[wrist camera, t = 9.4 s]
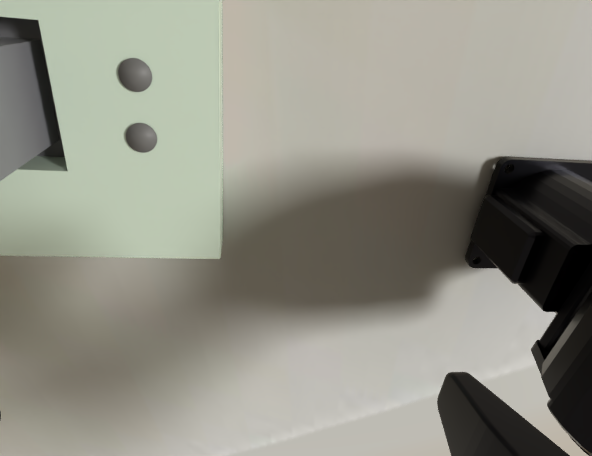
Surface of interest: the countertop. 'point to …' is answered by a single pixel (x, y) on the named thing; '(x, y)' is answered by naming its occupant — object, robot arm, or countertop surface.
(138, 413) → the countertop surface
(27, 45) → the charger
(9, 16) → the outlet plate
